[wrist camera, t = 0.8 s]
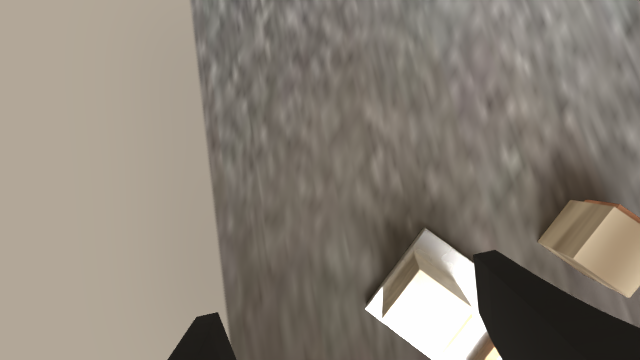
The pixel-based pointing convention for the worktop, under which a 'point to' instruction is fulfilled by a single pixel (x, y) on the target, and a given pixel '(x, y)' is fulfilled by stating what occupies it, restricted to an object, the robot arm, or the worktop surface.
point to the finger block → (598, 243)
